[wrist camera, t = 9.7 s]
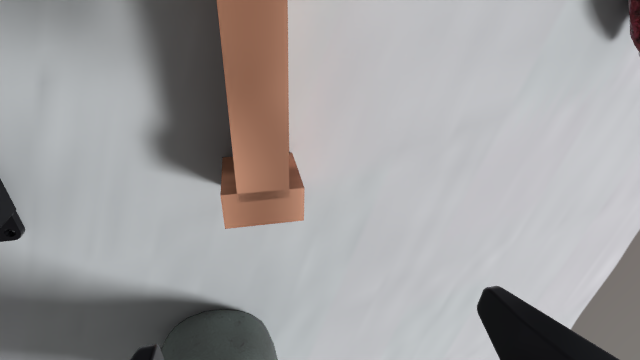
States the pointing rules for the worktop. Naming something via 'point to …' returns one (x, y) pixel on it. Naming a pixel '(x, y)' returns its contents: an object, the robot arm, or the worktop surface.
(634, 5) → the packaged food
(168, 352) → the bottle
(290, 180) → the block
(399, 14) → the worktop surface
